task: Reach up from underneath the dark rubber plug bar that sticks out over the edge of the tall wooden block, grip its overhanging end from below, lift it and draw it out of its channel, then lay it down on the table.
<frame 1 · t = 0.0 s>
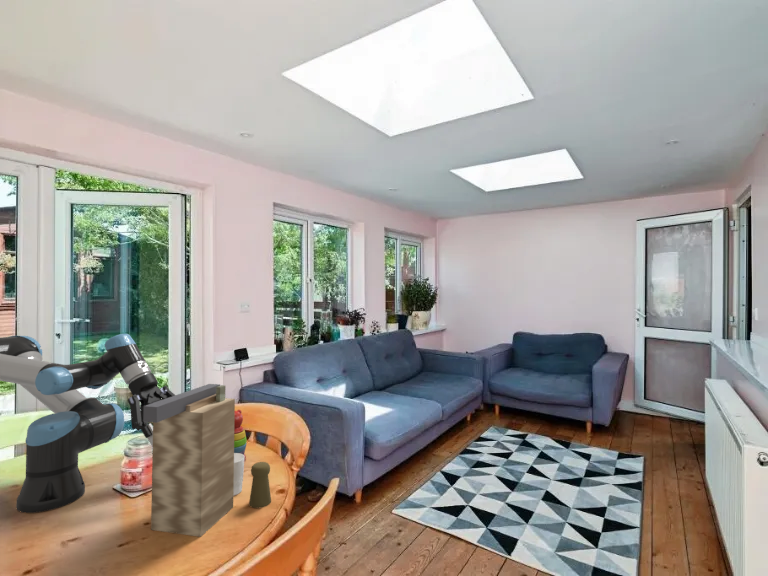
hand: (174, 437, 123), 15 cm above the table, tool tilted 35°, fingers open, 13 cm apart
plug bar: (185, 407, 103), point 30 cm above the table, touching tall wooden block
white cup: (230, 492, 121), on the table
tall wooden block: (194, 517, 106), on the table
olive pawn: (260, 503, 115), on the table
stacking bear: (231, 461, 143), on the table
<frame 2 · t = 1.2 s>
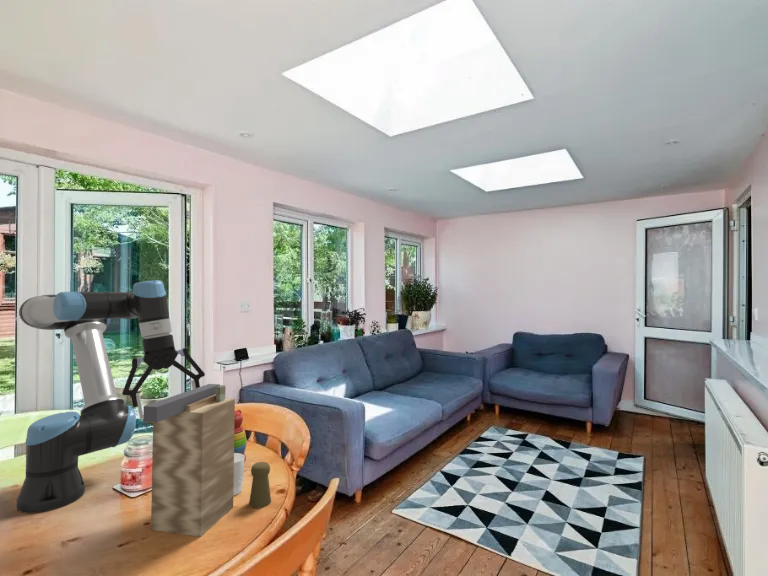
hand: (170, 410, 113), 26 cm above the table, tool pointing down, fingers open, 13 cm apart
nothing on the table moved.
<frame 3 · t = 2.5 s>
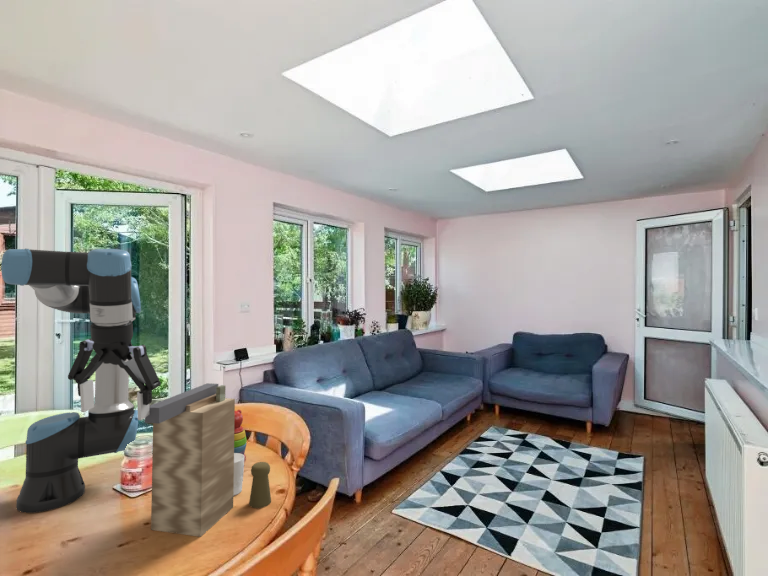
hand: (115, 413, 90), 32 cm above the table, tool pointing down, fingers open, 13 cm apart
plug bar: (185, 407, 103), point 30 cm above the table, touching gripper
everything else where it was.
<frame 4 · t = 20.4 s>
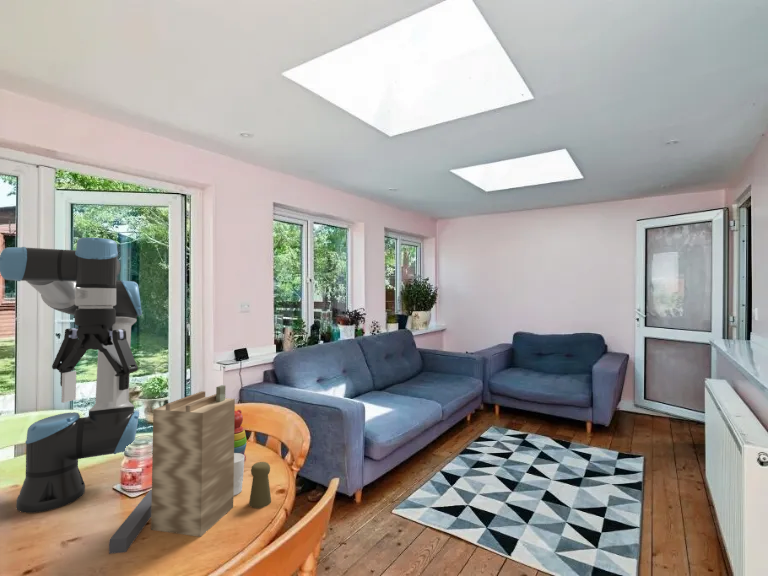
hand: (93, 403, 90), 35 cm above the table, tool pointing down, fingers open, 13 cm apart
plug bar: (139, 524, 104), on the table
everything else where it was.
at the end: plug bar on the table; plug bar inside the target area (3.9 cm from its centre), on the table; the gripper is holding nothing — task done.
